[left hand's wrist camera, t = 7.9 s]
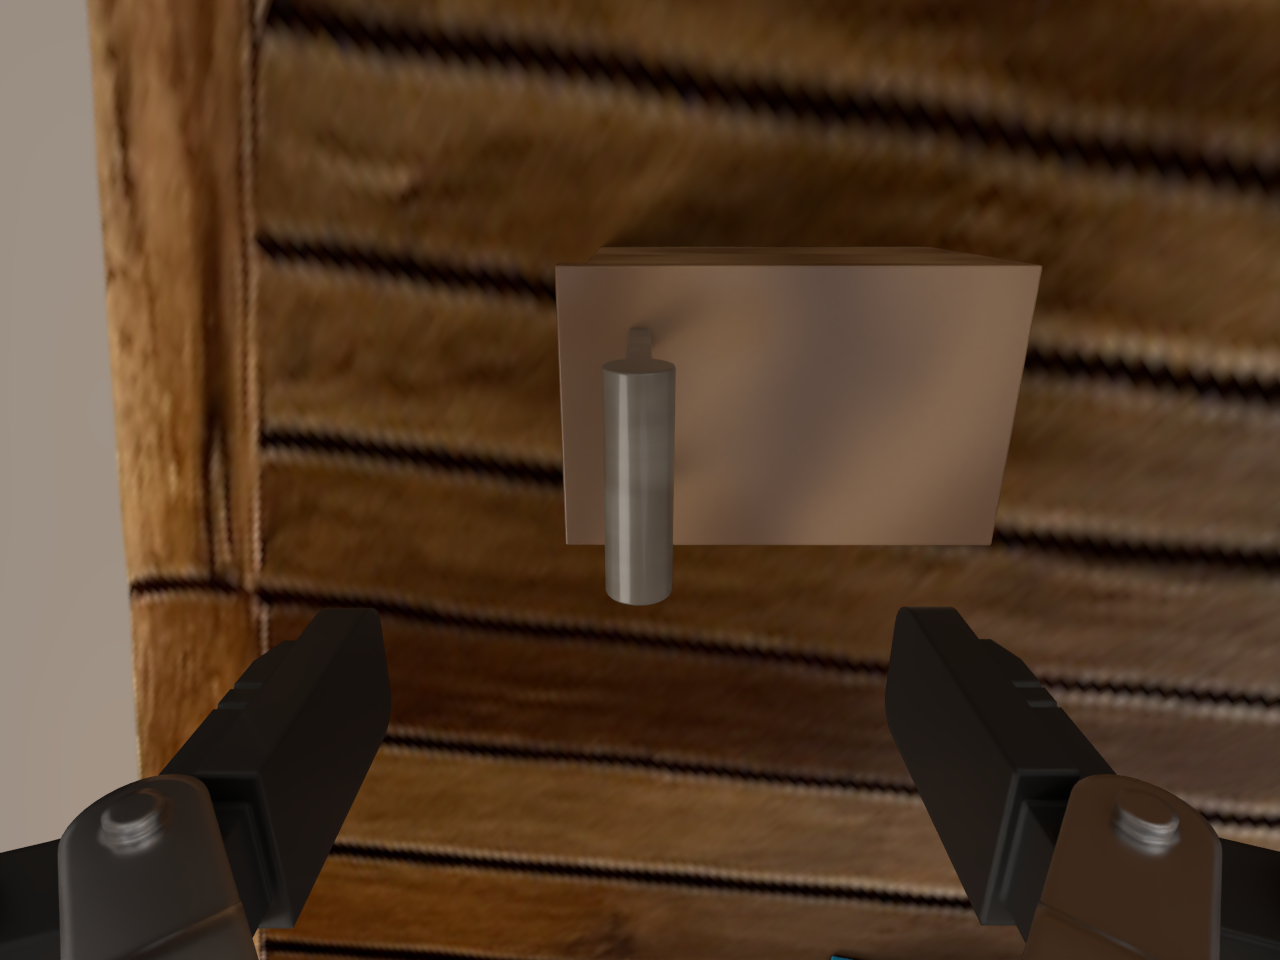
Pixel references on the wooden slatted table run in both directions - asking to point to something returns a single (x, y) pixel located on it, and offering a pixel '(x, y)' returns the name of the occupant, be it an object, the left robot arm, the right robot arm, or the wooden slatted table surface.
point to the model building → (838, 958)
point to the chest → (787, 255)
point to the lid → (784, 405)
